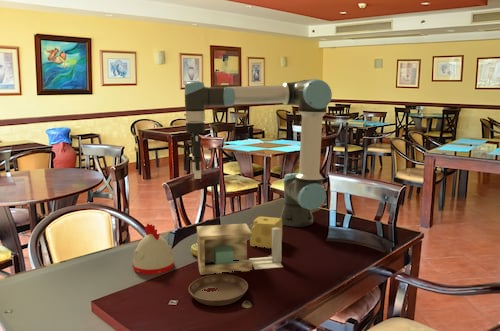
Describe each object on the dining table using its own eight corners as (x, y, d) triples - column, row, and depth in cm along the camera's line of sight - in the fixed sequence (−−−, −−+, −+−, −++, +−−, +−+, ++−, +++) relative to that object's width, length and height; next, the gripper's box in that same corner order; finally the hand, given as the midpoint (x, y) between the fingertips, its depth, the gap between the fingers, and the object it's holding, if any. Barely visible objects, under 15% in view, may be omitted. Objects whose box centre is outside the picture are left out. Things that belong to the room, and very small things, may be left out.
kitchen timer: (159, 256, 169) (158, 217, 166) (181, 266, 159) (180, 224, 156) (125, 266, 159) (123, 225, 156) (147, 277, 149) (145, 233, 147)
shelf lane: (246, 258, 166) (245, 223, 164) (252, 270, 154) (252, 233, 152) (197, 261, 162) (196, 226, 160) (200, 274, 151) (199, 236, 149)
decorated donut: (223, 256, 169) (223, 246, 168) (196, 260, 164) (195, 250, 164) (214, 247, 178) (214, 238, 177) (188, 251, 174) (187, 241, 173)
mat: (275, 256, 167) (275, 256, 167) (282, 267, 157) (282, 266, 157) (249, 258, 165) (249, 258, 165) (254, 269, 155) (254, 268, 155)
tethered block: (279, 257, 165) (279, 226, 163) (283, 264, 159) (283, 231, 157) (214, 262, 161) (213, 230, 159) (216, 269, 155) (215, 235, 153)
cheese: (249, 246, 179) (249, 221, 177) (259, 238, 188) (259, 214, 187) (274, 249, 175) (274, 224, 173) (283, 241, 185) (283, 217, 183)
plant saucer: (199, 314, 125) (198, 304, 125) (182, 289, 141) (181, 279, 141) (257, 302, 132) (257, 292, 132) (234, 279, 148) (234, 270, 148)
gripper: (184, 120, 190) (186, 170, 193) (186, 124, 165) (188, 181, 169) (202, 119, 191) (204, 169, 194) (207, 124, 167) (208, 180, 170)
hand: (196, 175), depth 182 cm, fingers open, 13 cm apart
